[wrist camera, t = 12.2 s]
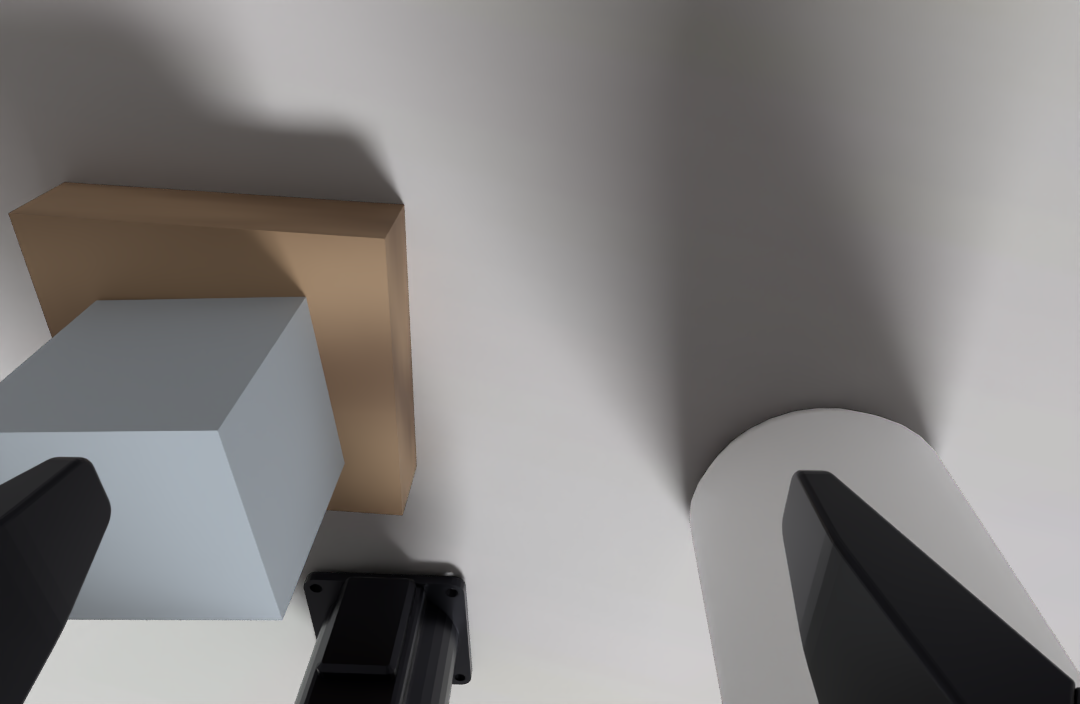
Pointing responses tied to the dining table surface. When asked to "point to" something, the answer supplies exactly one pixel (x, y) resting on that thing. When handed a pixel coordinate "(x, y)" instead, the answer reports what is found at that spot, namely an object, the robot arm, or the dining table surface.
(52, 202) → the walnut block
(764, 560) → the white bottle
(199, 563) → the grey cube
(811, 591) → the robot arm
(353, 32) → the dining table surface
